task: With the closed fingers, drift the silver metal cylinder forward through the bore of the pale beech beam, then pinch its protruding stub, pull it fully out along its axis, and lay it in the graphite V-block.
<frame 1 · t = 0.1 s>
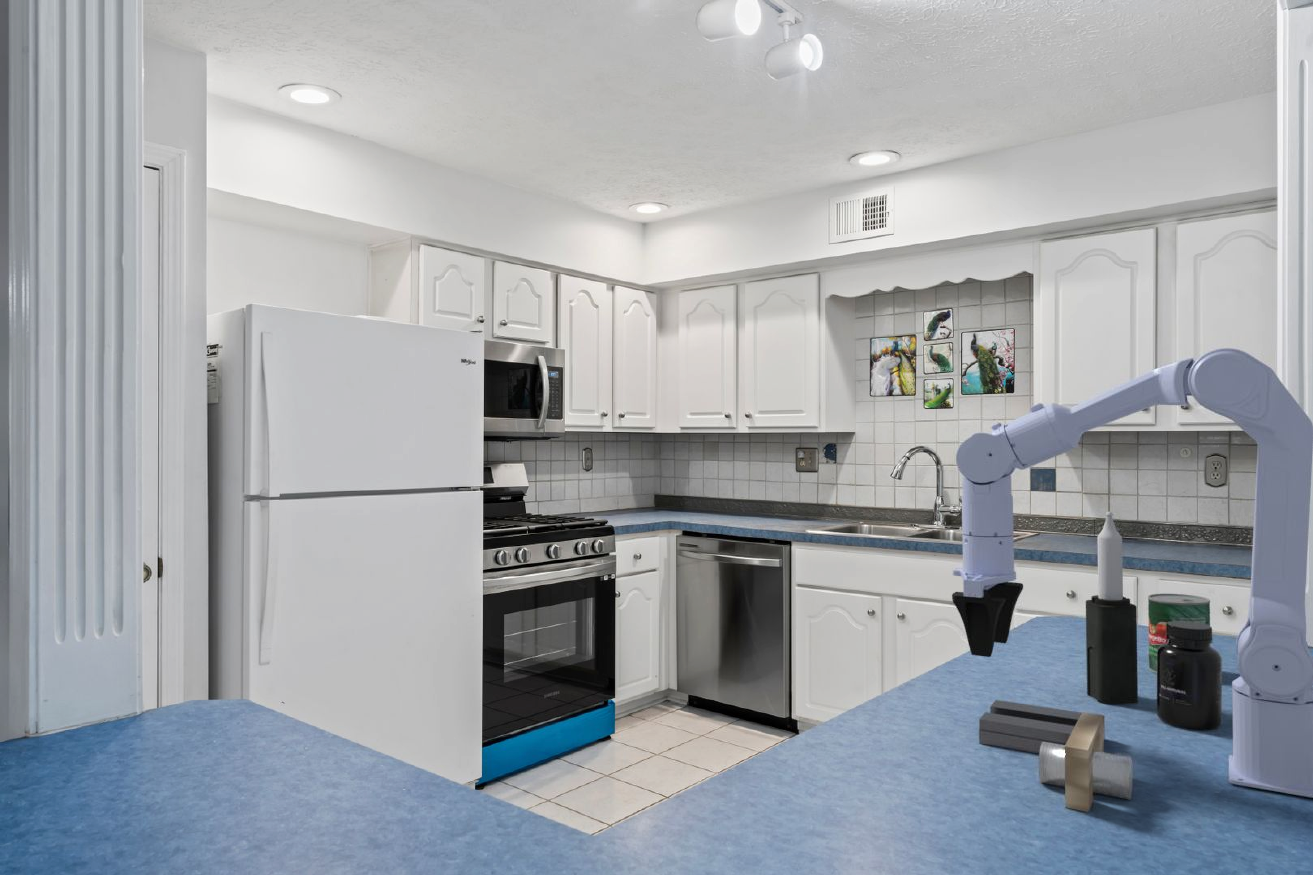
hand: (989, 648, 103), 10 cm above the countertop, tool pointing down, fingers open, 7 cm apart
silver metal cylinder: (1085, 789, 87), on the countertop
supplement bottle: (1189, 724, 106), on the countertop
canned tomato: (1179, 673, 128), on the countertop
candle: (1112, 699, 116), on the countertop
v block: (1042, 740, 100), on the countertop
beam: (1085, 787, 87), on the countertop
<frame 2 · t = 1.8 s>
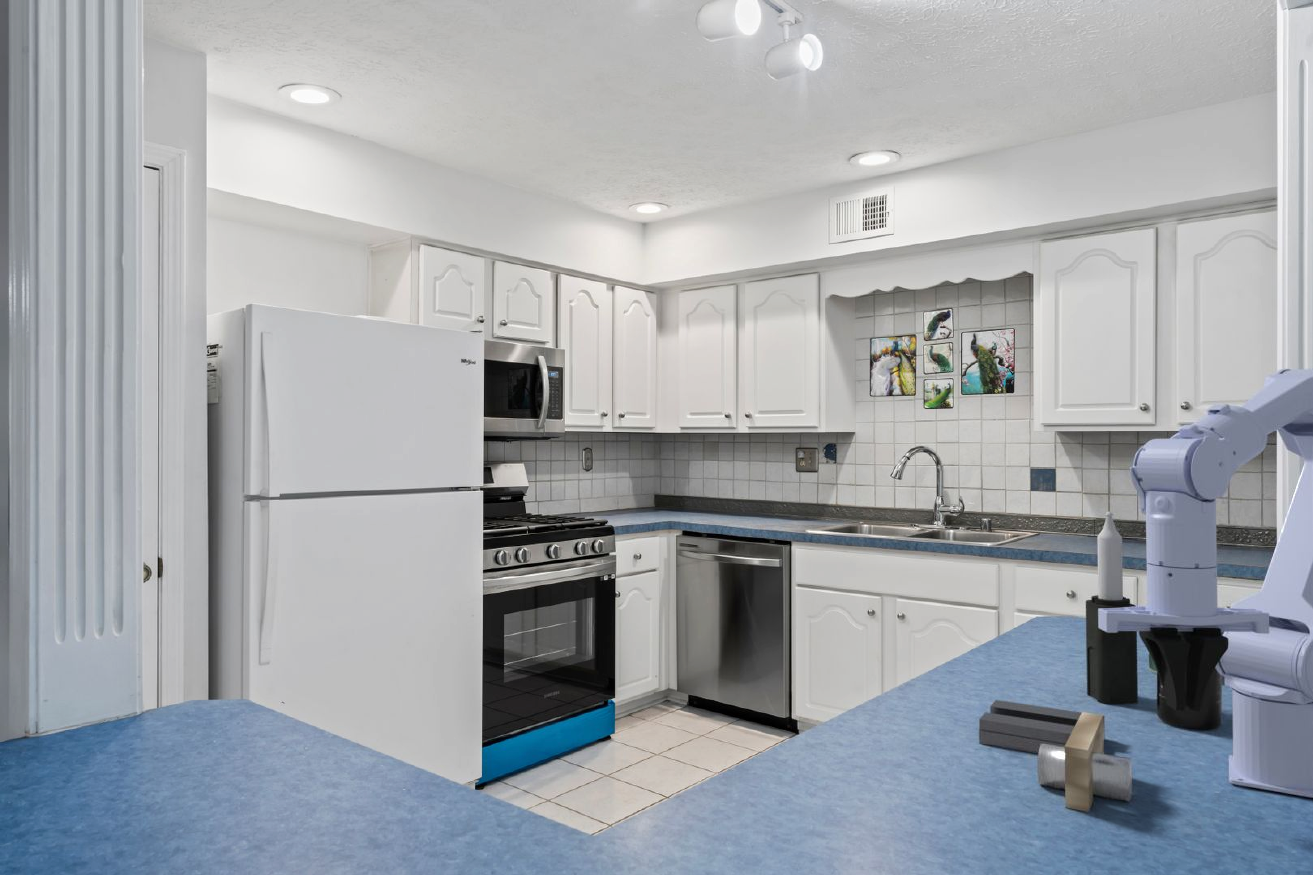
hand: (1183, 707, 82), 9 cm above the countertop, tool pointing down, fingers closed
silver metal cylinder: (1085, 787, 87), on the countertop, tilted 20°
everything else where it was.
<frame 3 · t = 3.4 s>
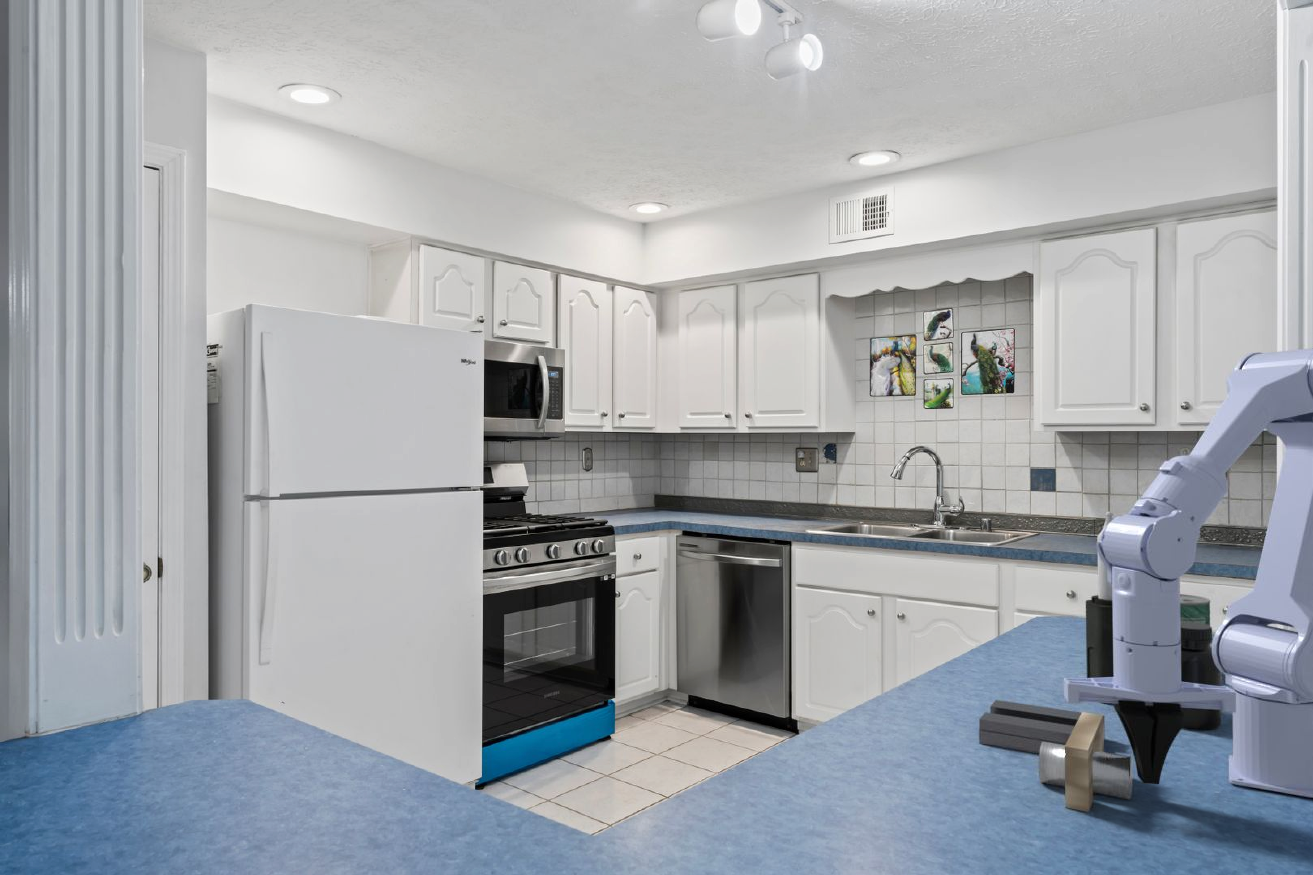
hand: (1148, 779, 84), 2 cm above the countertop, tool pointing down, fingers closed
silver metal cylinder: (1085, 789, 87), on the countertop, touching gripper
everything else where it was.
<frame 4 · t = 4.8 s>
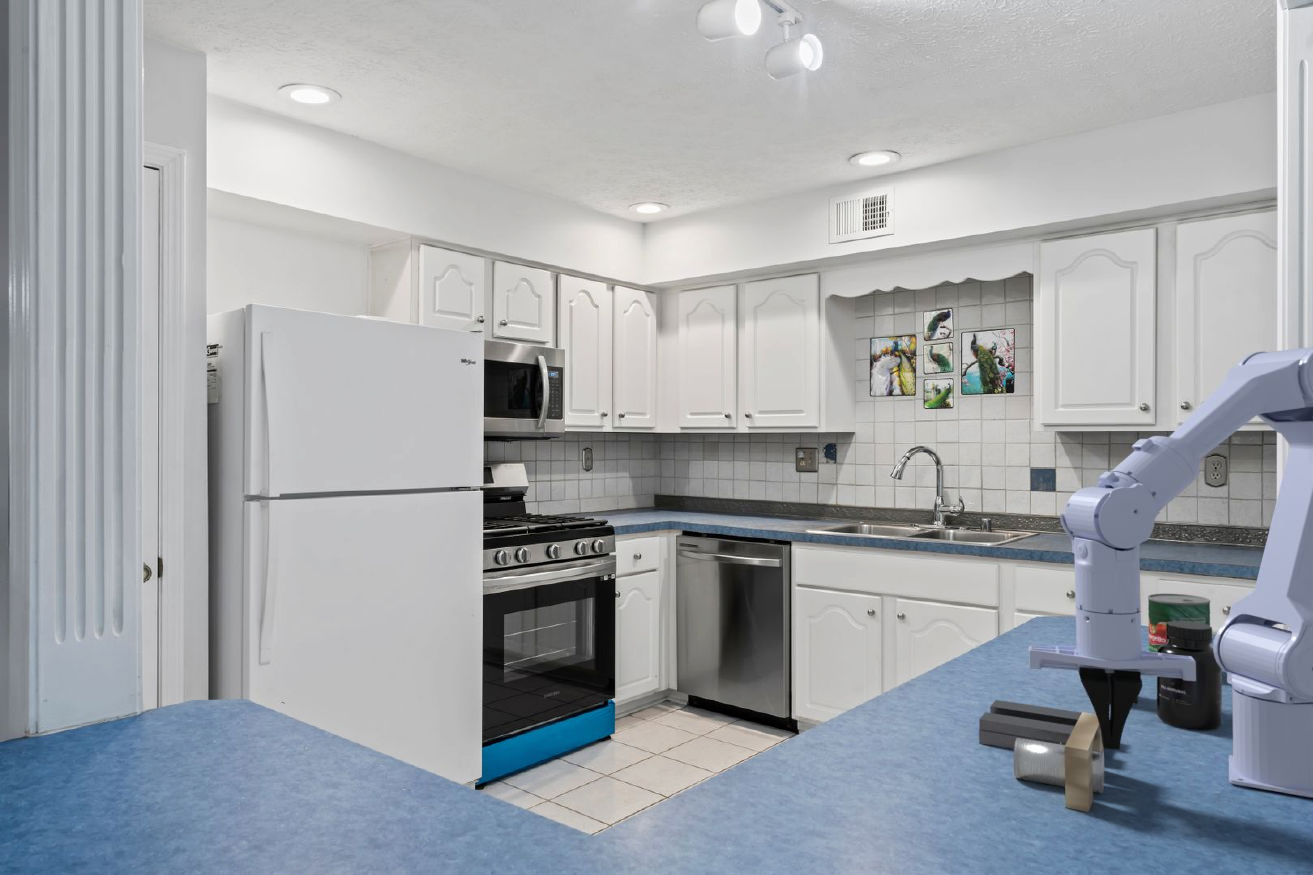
hand: (1110, 745, 85), 5 cm above the countertop, tool pointing down, fingers closed
silver metal cylinder: (1058, 784, 88), on the countertop
everything else where it was.
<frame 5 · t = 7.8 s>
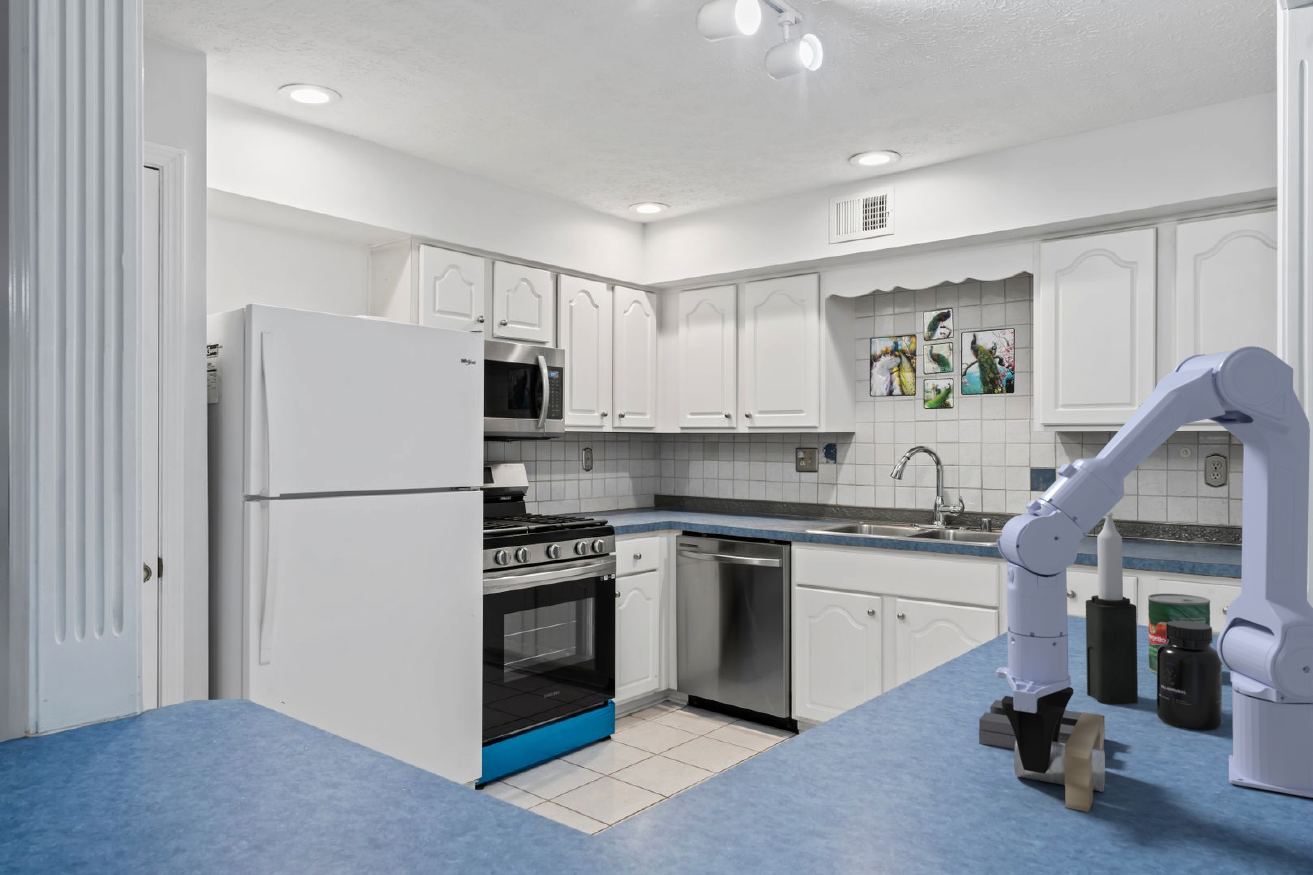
hand: (1039, 763, 89), 2 cm above the countertop, tool pointing down, fingers closed on silver metal cylinder, 4 cm apart
silver metal cylinder: (1059, 783, 88), on the countertop, touching gripper
everything else where it was.
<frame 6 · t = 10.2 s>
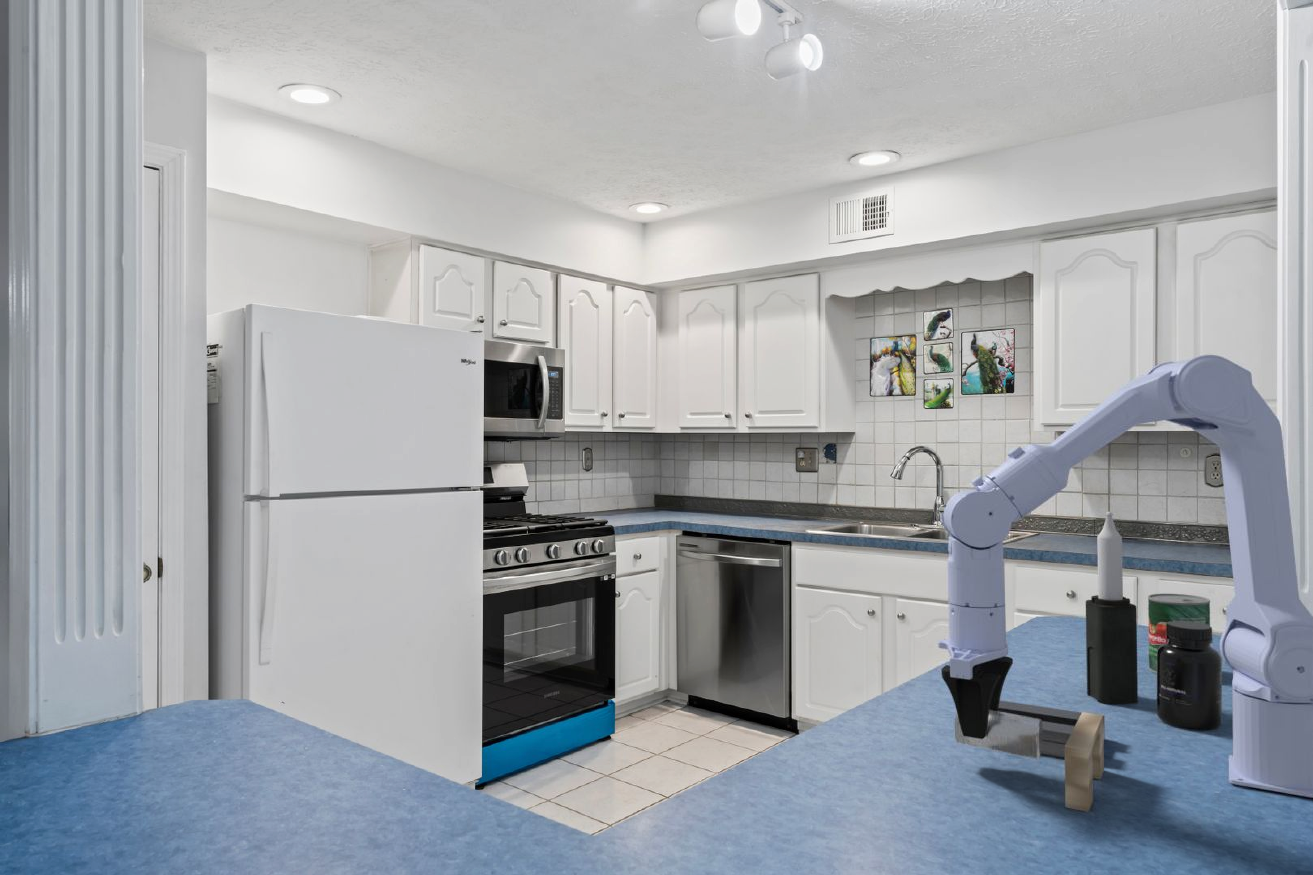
hand: (979, 730, 92), 4 cm above the countertop, tool pointing down, fingers closed on silver metal cylinder, 4 cm apart
silver metal cylinder: (997, 750, 91), point 2 cm above the countertop, tilted 5°, touching gripper
everything else where it was.
when the fingers open (5 cm above the countertop, at t = 12.8 s): silver metal cylinder stays where it is, resting on v block.
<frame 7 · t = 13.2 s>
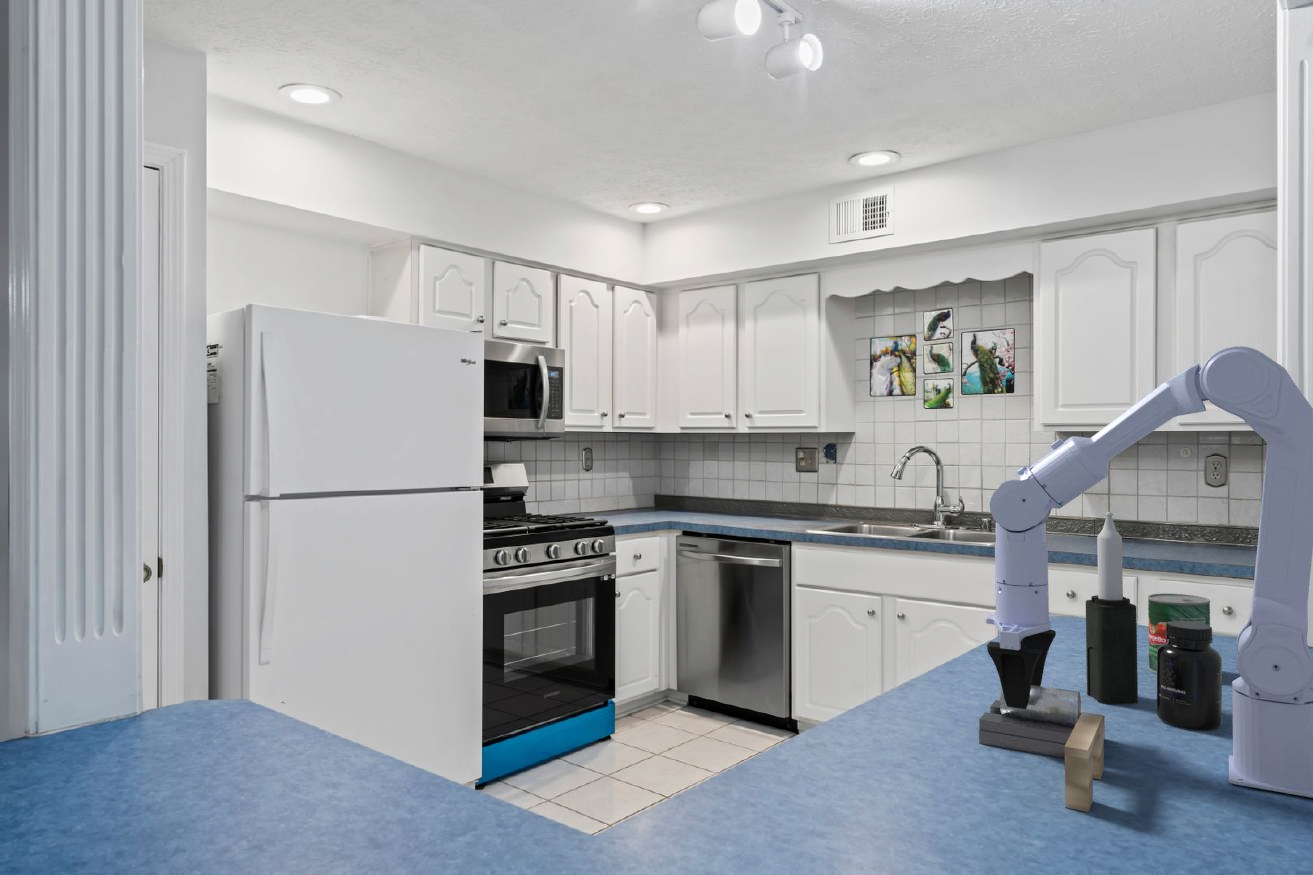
hand: (1023, 698, 101), 5 cm above the countertop, tool pointing down, fingers open, 7 cm apart
silver metal cylinder: (1040, 721, 100), point 2 cm above the countertop, tilted 8°, touching v block
everything else where it was.
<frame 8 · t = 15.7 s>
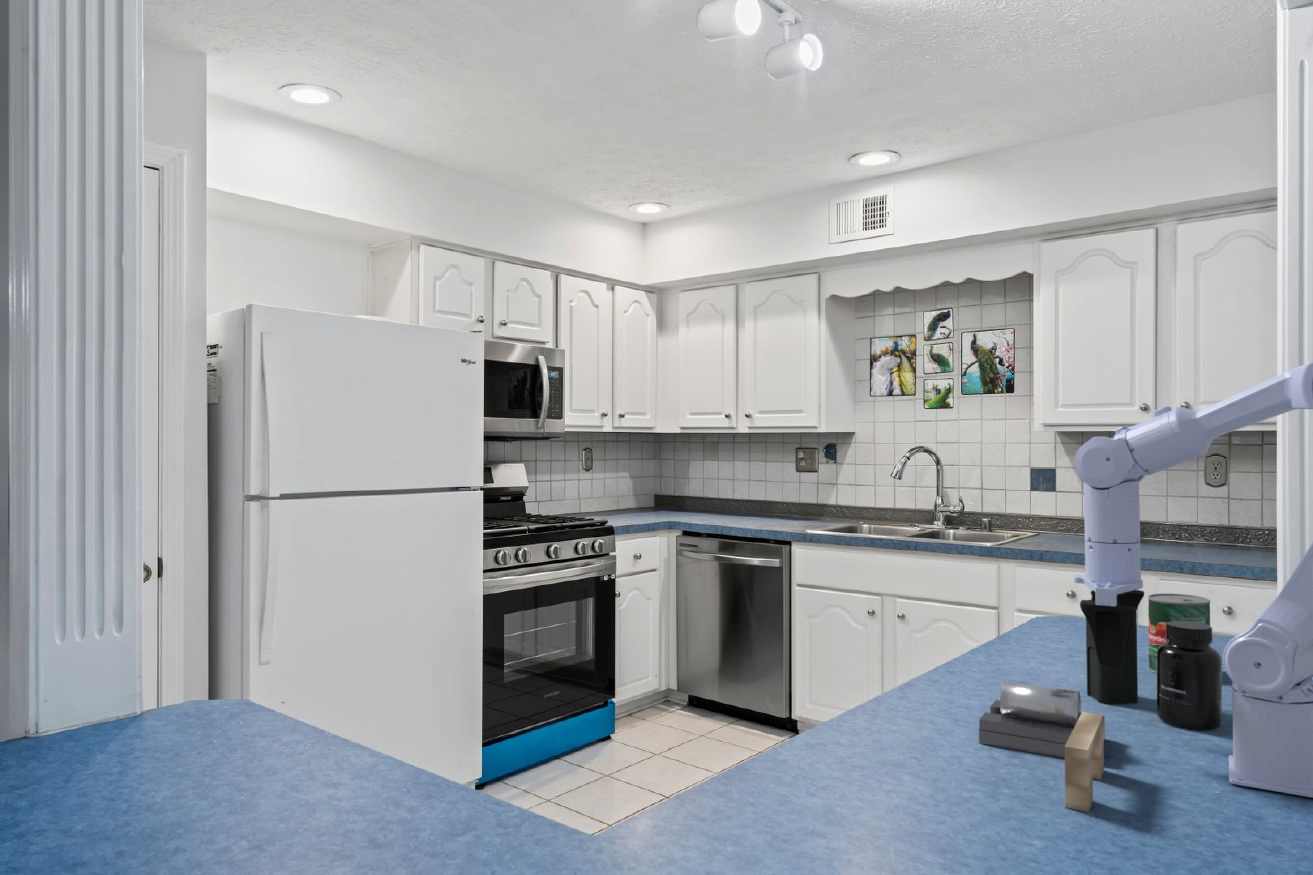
hand: (1113, 657, 100), 9 cm above the countertop, tool pointing down, fingers open, 7 cm apart
nothing on the countertop moved.
at the end: silver metal cylinder 0.4 cm off-centre on the v block, point 2.2 cm above the v block's base; silver metal cylinder touching v block; the gripper is holding nothing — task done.
